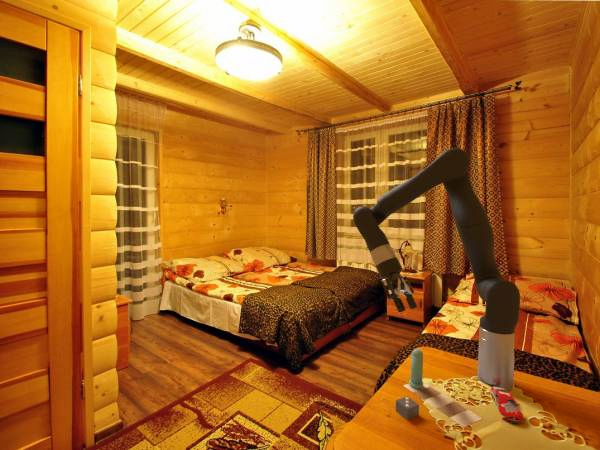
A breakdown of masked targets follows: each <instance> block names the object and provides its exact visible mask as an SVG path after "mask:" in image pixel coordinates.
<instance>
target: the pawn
mask: <svg viewBox="0 0 600 450" xmlns="http://www.w3.org/2000/svg"><path fill="white" fill-rule="evenodd" d="M410 361H411V366H410V367H411V368H410V379H409V383H410V386H411V387H412V388H414V389H418V391H419V390H420V389H421V390H422V389H423V382H424V381H423V378H424V377H423V371H424V370H423V369H424V368H423V367H424V353H423V352H422V350H421V349H419V348H414V349H413V350H412V352H411V360H410Z"/></svg>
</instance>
